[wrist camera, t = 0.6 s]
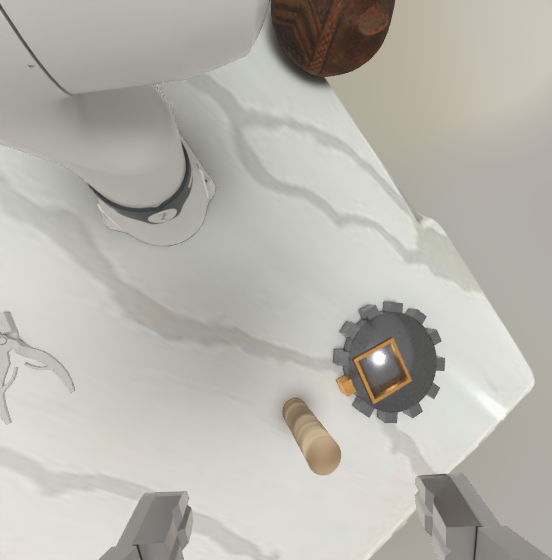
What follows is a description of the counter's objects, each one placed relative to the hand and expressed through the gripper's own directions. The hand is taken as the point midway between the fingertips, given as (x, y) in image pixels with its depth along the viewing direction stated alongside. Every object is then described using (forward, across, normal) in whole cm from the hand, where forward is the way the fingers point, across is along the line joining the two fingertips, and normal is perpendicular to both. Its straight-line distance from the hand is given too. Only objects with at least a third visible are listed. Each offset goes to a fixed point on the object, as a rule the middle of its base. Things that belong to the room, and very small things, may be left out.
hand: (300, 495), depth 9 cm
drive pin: (+33, +1, +24) cm, 41 cm away
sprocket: (+39, -17, +19) cm, 47 cm away
